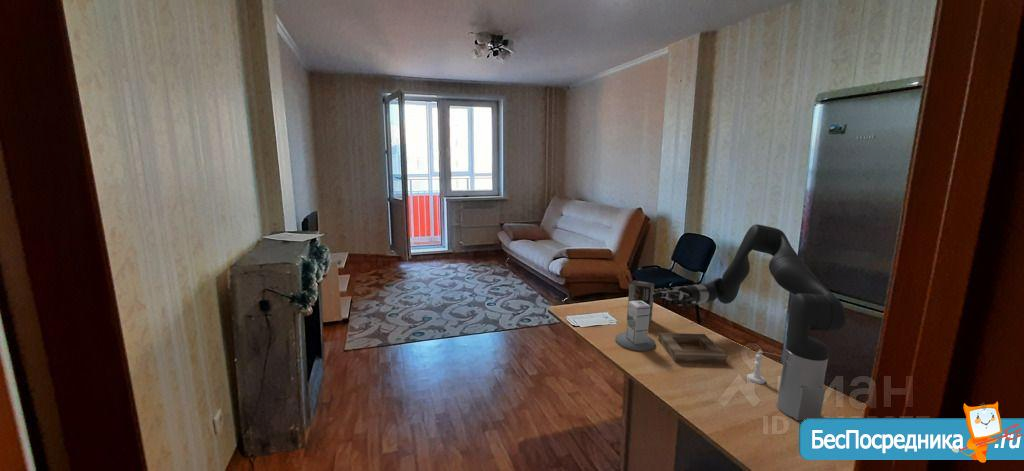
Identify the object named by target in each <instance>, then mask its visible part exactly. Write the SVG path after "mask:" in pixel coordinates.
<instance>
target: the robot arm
mask: <svg viewBox="0 0 1024 471" xmlns="http://www.w3.org/2000/svg"><path fill="white" fill-rule="evenodd" d="M752 251H754V252H759V253H763V254H767V255H771V256H772V257H771V259H770V261H769V263H768V269H769V272H770V274H771V276H772V277H773V279H774V281H775V282H776V284H778V286H780V287H781V288H782V289H784V290H786V291H787V292H789V293H790V294H792V295H793V296H792V298H791V301H790V303H789V309H788V320H787V331H786V346H785V352H784V357H783V363H782V371H781V376H780V380H779V381H780V383H779V387H778V388H779V389H778V396H777V401H776V406H777V408H778V410H780V412H782V413H783V414H784V415H786V416H788V417H790V418H793V419H794V420H795V421H800V422H803V421H802V420H804V419H807V418H820V419H821V415H822V410H823V405H824V401H825V400H824V399H825V393H826V388H825V387H824V382H825V379H826V372H827V367H828V361H829V357H830V347H829V346H828V345H827V344H826V343H824V342H823V341H821V340H819V339H817V338H814V337H812V336H810V335H809V330H813V331H820V332H821V331H822V332H837V331H840V330H842V329H843V328H844V326H845V325H846V322H847V314H846V310H845V307H844V305H843V303H842V301H840V299H839V298H838V296H836V295H835V294H834V293H833V292H831V291H830V290H829V289H828V287H826V286H825V285H824V284H823V283H822V282H821V281H820V280H819V279H818V277H817V276H815V274H814V273H813V272H812V271H811V270H810V268H809V267H808V266H807V264H806V263H805V261H804V260H803V259H802V258H801V257H800V256H799V254H797V252H796V251H795V249H794V247H792V245H791V243H790V241H789V239H788V237H787V236H786V233H784V231H782V230H781V229H779V228H776V227H773V226H769V225H768V226H767V225H763V224H752V225H751V227H749V229H748V230H747V231H746V233H745V235H744V237H743V238H742V241H741V243H740V245H739V247H738V249H737V251H736V253H735V256H734V258H733V259H732V261H731V262H730V264H729V265H728V266H727V268H726V270H725V271H724V272H723V274H722V276H721V277H717V278H715V279H713V280H711V281H710V282H707V283H703V284H690V285H682V286H680V287H679V288H678V289H677V290H676V289H675V290H671V288H661V289H657V292H654V293H653V300H655V299H666V301H669V303H668V305H669V306H671V307H673V306H680V307H681V306H683V307H684V308H688V307H692V306H696V305H700V304H703V303H709V302H713V301H716V300H718V301H719V302H720V303H722V304H724V305H725V304H731V303H732V302H734V300H736V298H737V297H738V294H739V292H740V291H739V290H740V287H741V284H742V283H743V282H744V281H745V279H746V278H747V277H748V275H749V274H750V269H751V268H750V267H751V266H750V260H749V254H750V253H751V252H752Z"/></svg>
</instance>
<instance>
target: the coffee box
mask: <svg viewBox="0 0 1024 471" xmlns="http://www.w3.org/2000/svg"><path fill="white" fill-rule="evenodd" d="M653 293H655V283H653V282H647V281H641V280H632V281H631V282H630V283H629V285H628V298H627V300H628V301H627V306H628V305H629V302H630V301H636V300H641V301H643V302H645V303H647V304H648V305H650V314H649V324H650V322H651V321H652V320H653V319H652V318H653V310H654V307H653V305H654V298H653ZM627 319H628V311H627V315H626V320H627Z"/></svg>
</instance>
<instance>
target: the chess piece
mask: <svg viewBox="0 0 1024 471" xmlns="http://www.w3.org/2000/svg"><path fill="white" fill-rule="evenodd" d="M762 354H763V351H762V350H761V349H759V350H758V351H757V354H755V361H754V364H755V367H754V371H753V372H752V373H747V376H746V378H747V380H748V381H750V382H752V383H754V384H757V385H759V384H760V385H764V384H765V383H766V379H765V377H764V376H762V375H761V373H760V372H761V371H760V370H761V367H760V366H762V365H763V363H762V360H763V359H764V356H763V355H762Z"/></svg>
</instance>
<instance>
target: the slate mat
mask: <svg viewBox="0 0 1024 471" xmlns="http://www.w3.org/2000/svg"><path fill="white" fill-rule="evenodd" d="M626 333H627V331H625V332H619V333H618V334H615V341H614V342H615V343H616V344H617V345H618V346H620V347H621V348H623V349H626V350H628V351H629V350H630V351H633V352H649V351H651V350H653V349H654V348H655V347H656V346H655V345H656V344H655V343H656V342H655V340H654V339H653V338H652V337H650V336H649V335H648V339H647V343H641V344H634V343H632V342H631V341H630V340H629V339H627V338H626Z"/></svg>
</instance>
